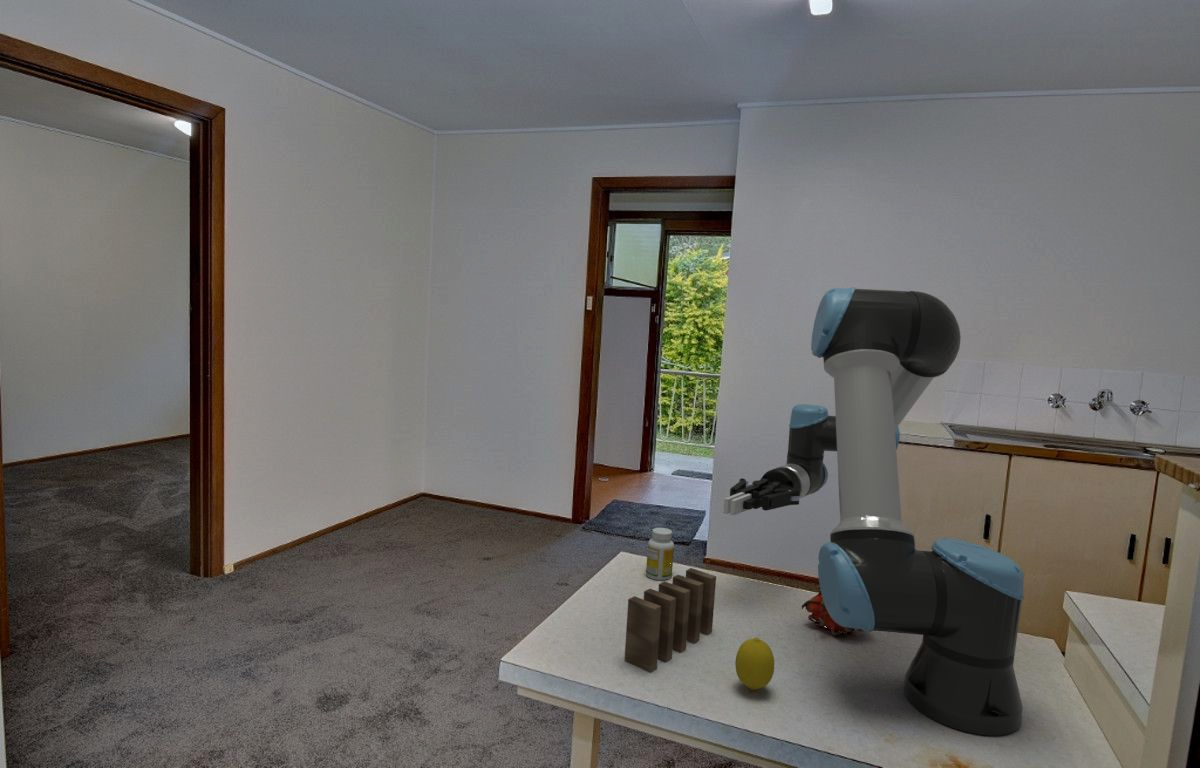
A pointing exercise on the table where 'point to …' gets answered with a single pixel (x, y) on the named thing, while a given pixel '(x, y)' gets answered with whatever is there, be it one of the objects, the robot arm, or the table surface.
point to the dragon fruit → (824, 616)
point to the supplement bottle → (660, 554)
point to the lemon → (754, 663)
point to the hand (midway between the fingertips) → (729, 506)
